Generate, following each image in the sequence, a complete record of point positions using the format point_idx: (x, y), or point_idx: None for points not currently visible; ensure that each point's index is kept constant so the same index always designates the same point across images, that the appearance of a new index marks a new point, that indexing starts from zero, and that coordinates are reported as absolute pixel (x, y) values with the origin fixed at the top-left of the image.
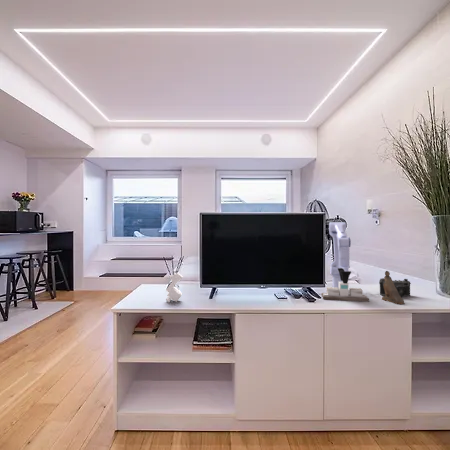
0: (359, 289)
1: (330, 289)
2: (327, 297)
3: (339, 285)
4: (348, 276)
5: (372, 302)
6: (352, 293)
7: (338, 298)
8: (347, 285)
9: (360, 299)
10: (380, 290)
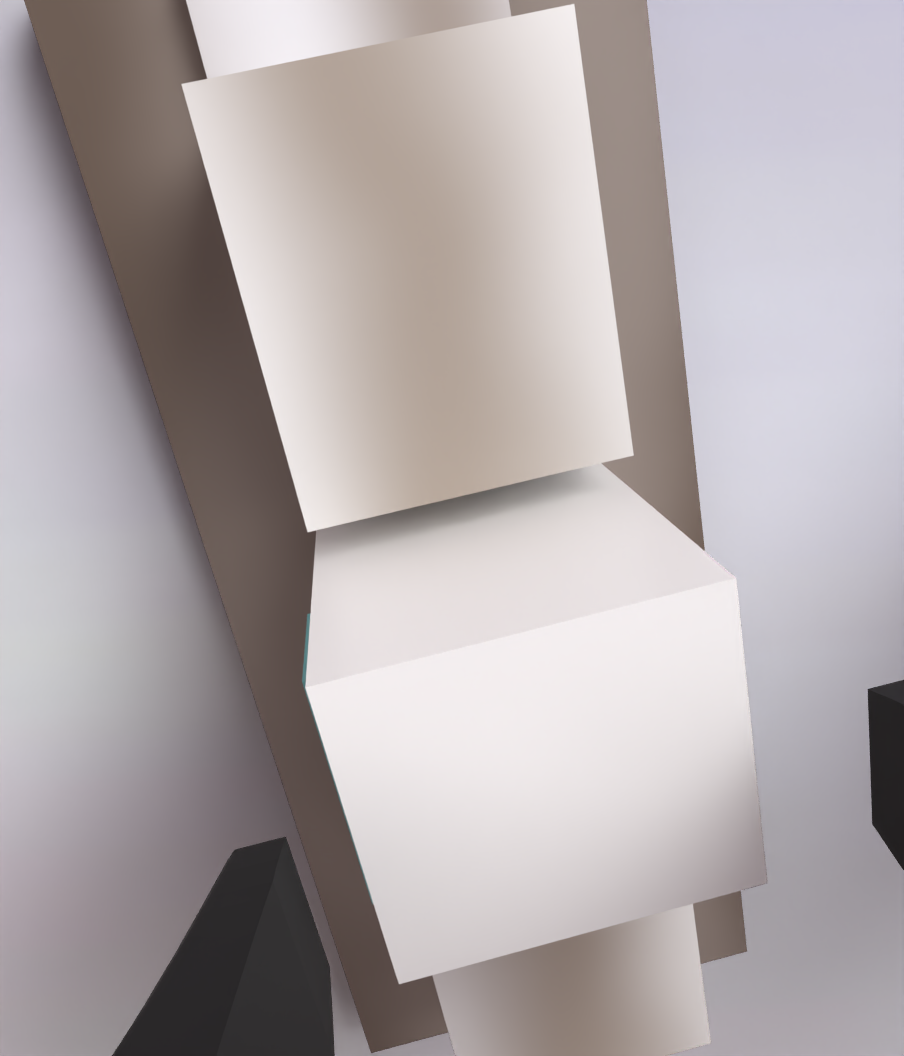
0: (543, 1044)
1: (222, 208)
2: (71, 125)
3: (441, 590)
4: None
5: (337, 1051)
6: None
7: (178, 455)
8: (370, 894)
9: (327, 906)
10: None
